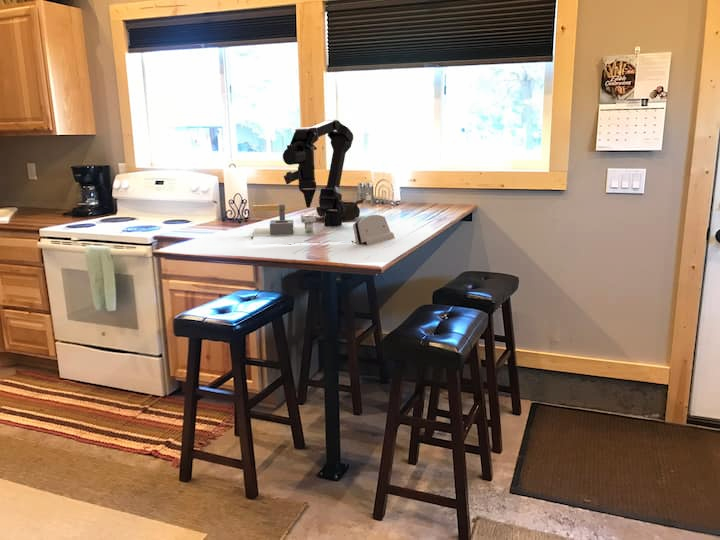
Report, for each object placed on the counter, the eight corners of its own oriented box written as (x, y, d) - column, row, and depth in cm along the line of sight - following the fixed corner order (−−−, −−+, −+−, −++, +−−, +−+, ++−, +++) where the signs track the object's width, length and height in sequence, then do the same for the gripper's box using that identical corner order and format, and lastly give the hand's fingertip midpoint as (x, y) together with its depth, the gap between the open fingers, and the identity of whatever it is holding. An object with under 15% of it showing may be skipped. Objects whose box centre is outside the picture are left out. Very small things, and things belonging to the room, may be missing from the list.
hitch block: (316, 229, 235) (315, 208, 233) (317, 236, 218) (316, 215, 216) (254, 231, 232) (253, 210, 230) (251, 239, 216) (249, 217, 214)
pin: (316, 230, 226) (315, 213, 224) (316, 232, 221) (316, 215, 219) (301, 230, 225) (300, 214, 224) (301, 233, 220) (301, 216, 219)
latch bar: (285, 209, 231) (285, 204, 231) (285, 210, 229) (284, 205, 228) (253, 210, 230) (252, 205, 230) (252, 211, 228) (252, 206, 227)
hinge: (367, 245, 201) (359, 216, 201) (357, 248, 204) (349, 220, 204) (395, 237, 214) (387, 210, 214) (385, 240, 217) (377, 214, 217)
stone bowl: (367, 222, 249) (364, 199, 247) (307, 227, 250) (304, 205, 248) (367, 212, 273) (365, 192, 271) (313, 217, 274) (310, 197, 272)
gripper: (284, 162, 225) (286, 203, 229) (283, 165, 207) (285, 210, 211) (314, 161, 226) (315, 202, 230) (315, 164, 208) (317, 209, 212)
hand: (308, 205), depth 221 cm, fingers open, 9 cm apart
